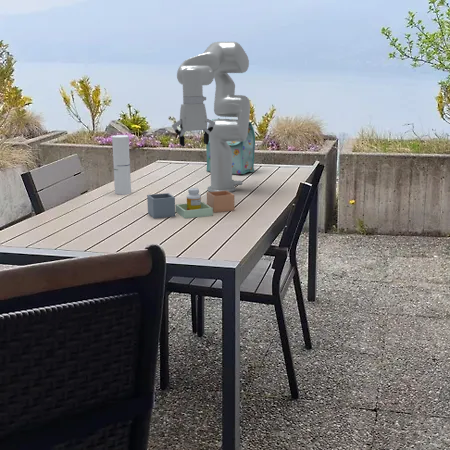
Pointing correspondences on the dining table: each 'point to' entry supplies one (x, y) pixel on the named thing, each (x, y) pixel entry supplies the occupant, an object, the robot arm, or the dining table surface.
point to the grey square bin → (161, 205)
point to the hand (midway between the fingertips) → (194, 145)
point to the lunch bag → (239, 153)
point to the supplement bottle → (193, 199)
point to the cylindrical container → (121, 164)
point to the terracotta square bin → (221, 201)
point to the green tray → (194, 211)
